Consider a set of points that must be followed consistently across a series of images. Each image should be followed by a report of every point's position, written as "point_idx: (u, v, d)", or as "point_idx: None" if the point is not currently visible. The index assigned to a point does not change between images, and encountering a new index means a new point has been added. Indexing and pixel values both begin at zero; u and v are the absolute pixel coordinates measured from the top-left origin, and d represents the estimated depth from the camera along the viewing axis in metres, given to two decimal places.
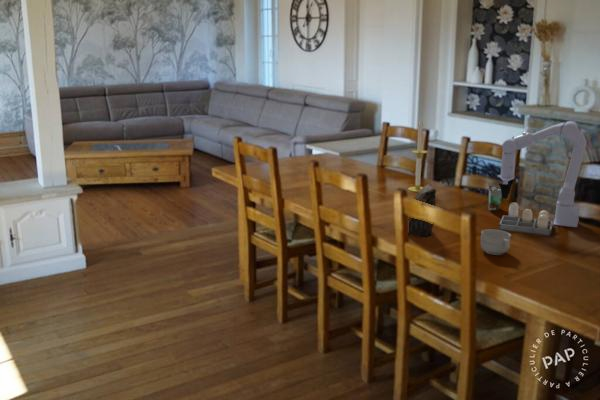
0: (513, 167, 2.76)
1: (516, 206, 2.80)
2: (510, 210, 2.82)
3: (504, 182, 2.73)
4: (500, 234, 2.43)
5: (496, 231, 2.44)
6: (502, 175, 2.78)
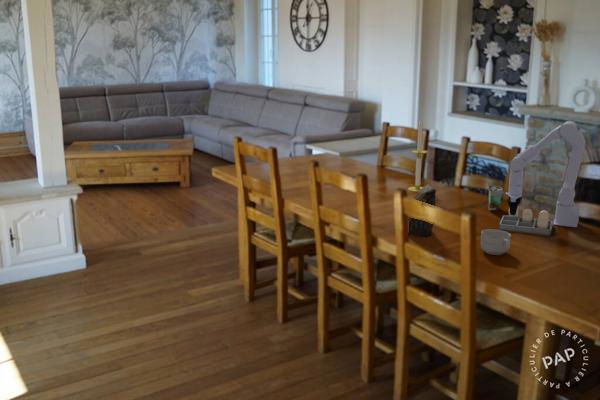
0: (521, 185, 2.77)
1: None
2: None
3: (512, 200, 2.75)
4: (500, 234, 2.43)
5: (496, 231, 2.44)
6: (510, 192, 2.79)
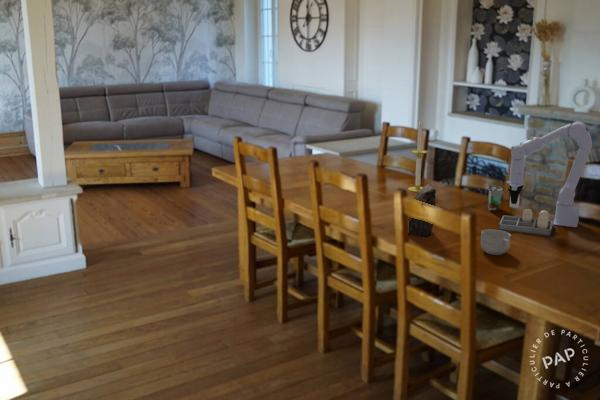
0: (522, 173, 2.76)
1: None
2: None
3: (513, 188, 2.73)
4: (500, 234, 2.43)
5: (496, 231, 2.44)
6: (511, 181, 2.78)
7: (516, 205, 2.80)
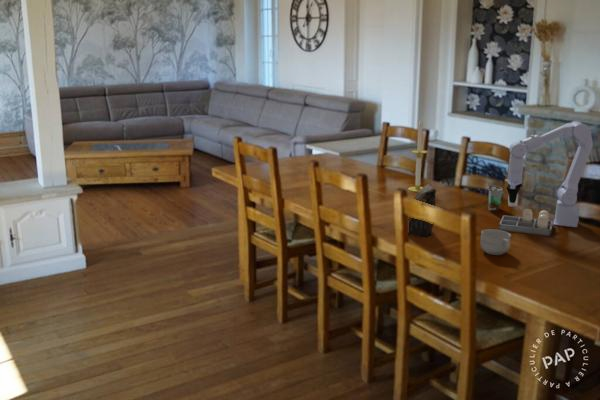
0: (521, 171, 2.69)
1: None
2: None
3: (511, 187, 2.66)
4: (500, 234, 2.43)
5: (496, 231, 2.44)
6: (509, 179, 2.71)
7: (514, 204, 2.73)
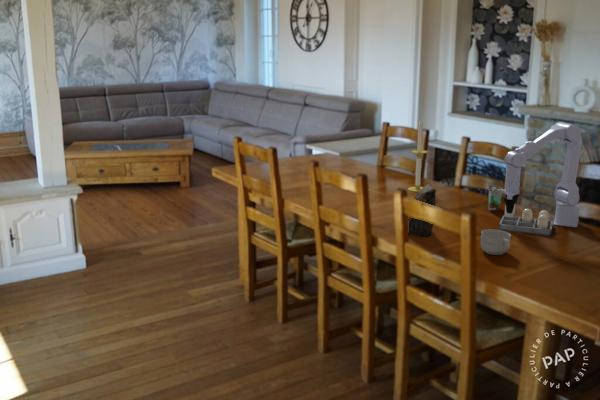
0: (518, 181, 2.61)
1: None
2: None
3: (508, 197, 2.58)
4: (500, 234, 2.43)
5: (496, 231, 2.44)
6: (506, 189, 2.63)
7: (511, 215, 2.65)
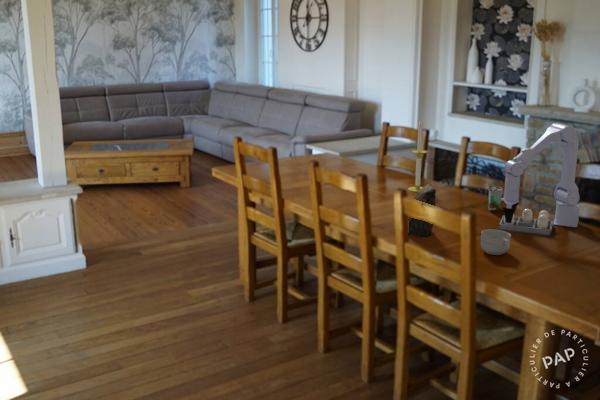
0: (517, 190, 2.62)
1: None
2: None
3: (508, 206, 2.59)
4: (500, 234, 2.43)
5: (496, 231, 2.44)
6: (506, 198, 2.64)
7: None
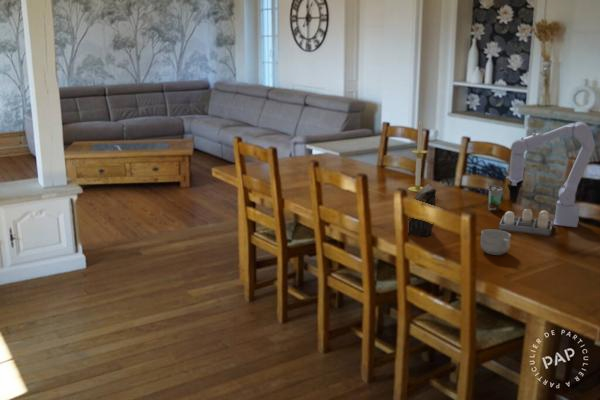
0: (522, 168, 2.72)
1: (512, 215, 2.65)
2: (505, 219, 2.67)
3: (513, 183, 2.70)
4: (500, 234, 2.43)
5: (496, 231, 2.44)
6: (511, 176, 2.74)
7: None
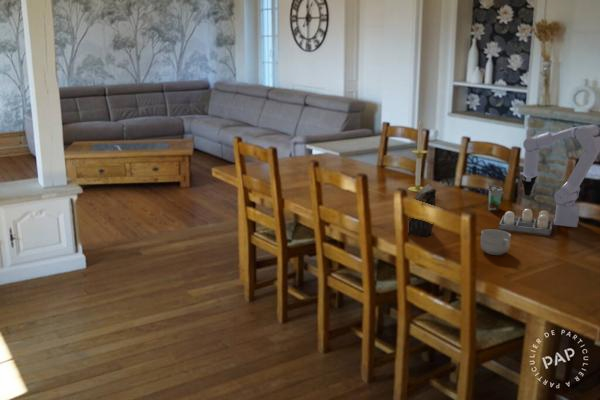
0: (536, 164, 2.79)
1: (512, 215, 2.65)
2: (505, 219, 2.67)
3: (527, 179, 2.77)
4: (500, 234, 2.43)
5: (496, 231, 2.44)
6: (525, 172, 2.81)
7: None
